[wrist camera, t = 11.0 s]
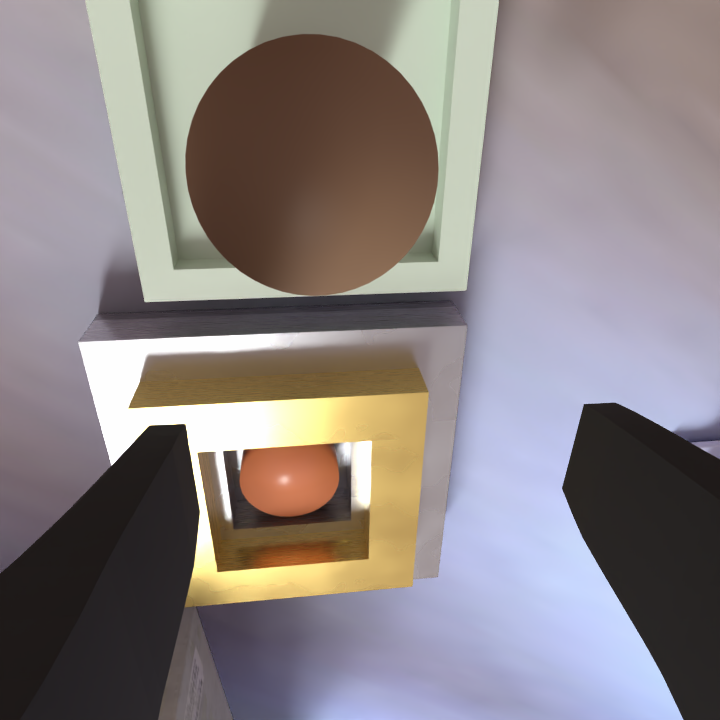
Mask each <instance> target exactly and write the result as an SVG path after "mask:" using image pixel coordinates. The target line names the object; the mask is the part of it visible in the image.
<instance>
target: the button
mask: <svg viewBox="0 0 720 720" xmlns="http://www.w3.org/2000/svg"><path fill="white" fill-rule="evenodd" d="M338 483H339V470H338V462H337V454H336V449H335V446H334V444H333V443H331V444H316V445H300V446H284V447H269V448H253V449H244V450H243V453H242V462H241V471H240V487H241V490H242V493H243V495H244V496H245V498H246V499H247V500H248V502H249V503H250V504H252V505H253V506H254V507H256V508H257V509H259V510H261V511H263V512H265V513H268V514H271V515H275V516H284V517H292V516H300V515H304V514H307V513H310V512H313V511H315V510H317V509H319V508H320V507H322V506H323V505H325V504H326V503H327V502H328V501H329V500H330V499H331V498H332V496H333V495H334V493H335V492H336V489H337V487H338Z"/></svg>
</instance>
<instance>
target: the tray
mask: <svg viewBox="0 0 720 720" xmlns="http://www.w3.org/2000/svg"><path fill="white" fill-rule="evenodd" d="M85 2H86V7H87V12H88V17H89V22H90V27H91V32H92V37H93V42H94V47H95V53H96V58H97V63H98V68H99V73H100V78H101V83H102V88H103V93H104V98H105V103H106V108H107V113H108V118H109V124H110V129H111V134H112V139H113V144H114V149H115V154H116V159H117V164H118V169H119V174H120V179H121V184H122V190H123V195H124V200H125V205H126V210H127V215H128V220H129V225H130V230H131V235H132V240H133V245H134V250H135V255H136V261H137V266H138V271H139V276H140V281H141V286H142V291H143V296H144V301H145V302H164V301H192V300H220V299H248V298H275V297H303V296H306V295H296V294H291V293H286V292H282V291H279V290H276V289H273V288H270V287H267V286H265V285H263V284H261V283H259V282H257V281H254V280H253V279H251V278H250V277H248V276H246V275H245V274H243V273H242V272H240V271H239V270H238V269H237V268H235V267H234V266H233V265H232V264H231V263H229V262H228V261H227V260H226V259H225V258H224V257H223V256H222V255H221V254H220V252H219V251H218V250H217V249H216V248H215V246H214V245H213V244H212V242H211V241H210V240H209V238H208V237H207V235H206V234H205V232H204V230H203V228H202V227H201V225H200V223H199V221H198V219H197V216H196V214H195V211H194V209H193V206H192V203H191V199H190V196H189V192H188V187H187V180H186V172H185V153H186V145H187V137H188V133H189V129H190V125H191V121H192V118H193V116H194V114H195V111H196V109H197V106H198V104H199V102H200V100H201V99H202V97H203V95H204V93H205V92H206V90H207V88H208V87H209V86H210V84H211V83H212V82H213V81H214V79H215V78H216V77H217V76H218V74H219V73H220V72H221V71H222V70H223V69H224V68H226V67H227V66H228V65H229V64H230V63H231V62H232V61H233V60H235V59H236V58H237V57H239V56H240V55H242V54H243V53H245V52H246V51H248V50H250V49H252V48H254V47H256V46H258V45H260V44H262V43H264V42H267V41H270V40H273V39H277V38H280V37H284V36H291V35H298V34H322V35H328V36H334V37H339V38H342V39H345V40H349V41H352V42H355V43H357V44H359V45H361V46H363V47H365V48H367V49H369V50H372V51H373V52H375V53H376V54H378V55H379V56H381V57H382V58H384V59H385V60H386V61H388V62H389V63H390V64H391V65H392V66H393V67H394V68H396V69H397V70H398V71H399V72H400V73H401V74H402V75H403V76H404V78H405V79H406V80H407V81H408V82H409V84H410V85H411V86H412V87H413V89H414V90H415V92H416V93H417V95H418V97H419V98H420V100H421V101H422V103H423V105H424V107H425V110H426V112H427V114H428V116H429V118H430V121H431V125H432V128H433V131H434V134H435V139H436V145H437V150H438V165H439V172H438V186H437V191H436V196H435V201H434V204H433V207H432V210H431V213H430V216H429V219H428V221H427V223H426V225H425V227H424V229H423V231H422V233H421V235H420V236H419V238H418V239H417V241H416V243H415V244H414V245H413V247H412V248H411V249H410V250H409V252H408V253H407V254H406V255H405V256H404V257H403V258H402V259H401V260H400V261H399V262H398V263H397V264H396V265H395V266H394V267H393V268H391V269H390V270H389V271H387V272H386V273H385V274H383V275H382V276H381V277H379V278H377V279H375V280H374V281H372V282H370V283H368V284H366V285H364V286H361V287H359V288H356V289H354V290H350V291H347V292H343V293H338V294H332V295H359V294H387V293H415V292H443V291H466V289H467V281H468V272H469V263H470V254H471V245H472V236H473V227H474V218H475V209H476V201H477V192H478V183H479V174H480V165H481V156H482V147H483V138H484V130H485V121H486V112H487V103H488V94H489V85H490V76H491V67H492V58H493V50H494V41H495V32H496V23H497V14H498V5H499V0H85ZM324 296H331V295H324Z"/></svg>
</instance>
